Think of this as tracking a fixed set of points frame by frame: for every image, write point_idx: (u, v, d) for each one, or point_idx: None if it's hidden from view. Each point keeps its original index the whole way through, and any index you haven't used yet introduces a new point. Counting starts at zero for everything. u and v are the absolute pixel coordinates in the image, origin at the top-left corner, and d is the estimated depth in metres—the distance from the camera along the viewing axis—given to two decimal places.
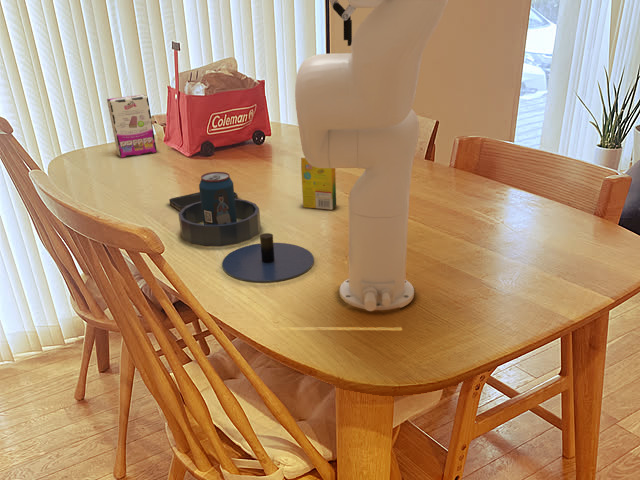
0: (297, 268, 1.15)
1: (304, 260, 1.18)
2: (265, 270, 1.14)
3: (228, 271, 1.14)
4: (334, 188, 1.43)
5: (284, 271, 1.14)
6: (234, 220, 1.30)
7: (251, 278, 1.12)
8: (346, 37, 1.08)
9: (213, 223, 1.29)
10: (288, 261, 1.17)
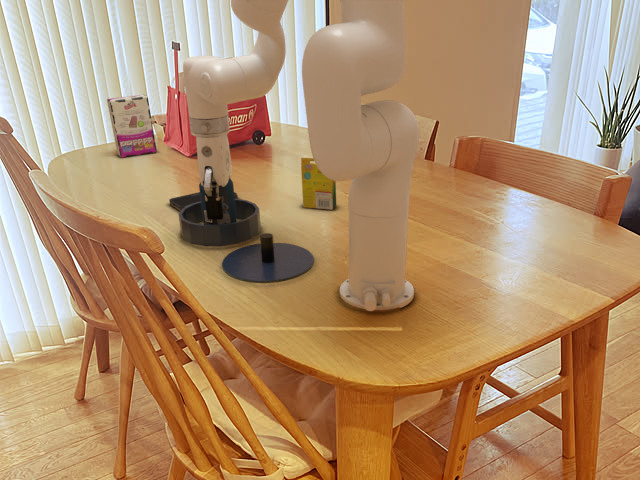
0: (297, 268, 1.15)
1: (304, 260, 1.18)
2: (265, 270, 1.14)
3: (228, 271, 1.14)
4: (334, 188, 1.43)
5: (284, 271, 1.14)
6: (234, 220, 1.30)
7: (251, 278, 1.12)
8: (218, 213, 1.26)
9: (213, 223, 1.29)
10: (288, 261, 1.17)
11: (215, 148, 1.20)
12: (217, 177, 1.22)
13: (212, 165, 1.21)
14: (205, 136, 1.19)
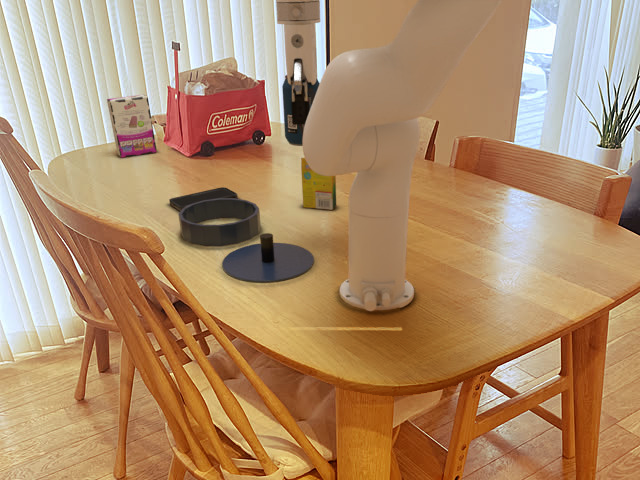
0: (297, 268, 1.15)
1: (304, 260, 1.18)
2: (265, 270, 1.14)
3: (228, 271, 1.14)
4: (334, 188, 1.43)
5: (284, 271, 1.14)
6: None
7: (251, 278, 1.12)
8: (305, 117, 1.13)
9: (298, 129, 1.15)
10: (288, 261, 1.17)
11: (306, 36, 1.06)
12: (307, 72, 1.08)
13: (302, 57, 1.07)
14: (296, 23, 1.06)
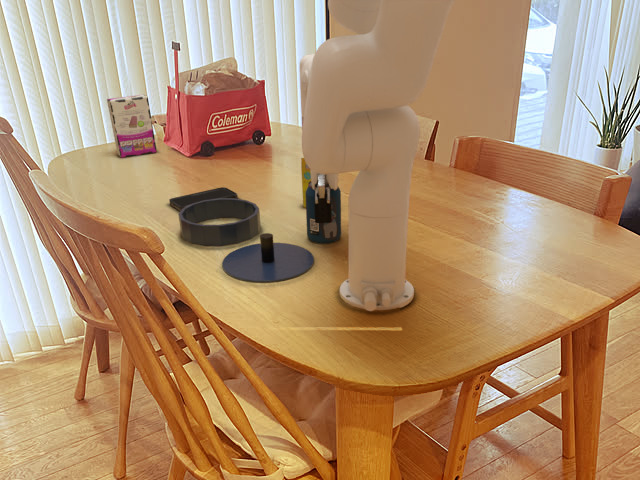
0: (297, 268, 1.15)
1: (304, 260, 1.18)
2: (265, 270, 1.14)
3: (228, 271, 1.14)
4: None
5: (284, 271, 1.14)
6: (339, 229, 1.26)
7: (251, 278, 1.12)
8: (327, 216, 1.20)
9: (319, 232, 1.24)
10: (288, 261, 1.17)
11: None
12: (330, 176, 1.16)
13: None
14: None
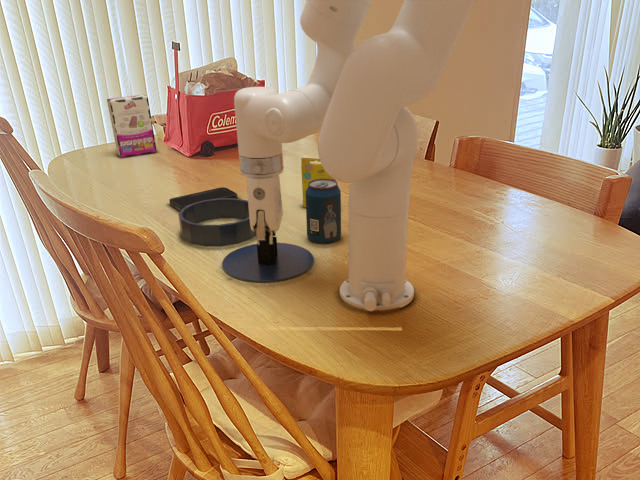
0: (296, 268, 1.15)
1: (304, 260, 1.18)
2: (265, 270, 1.14)
3: (228, 271, 1.14)
4: None
5: (284, 271, 1.14)
6: (339, 229, 1.26)
7: (251, 278, 1.12)
8: (270, 258, 1.16)
9: (319, 232, 1.24)
10: (288, 261, 1.17)
11: (268, 190, 1.06)
12: None
13: (265, 209, 1.08)
14: (257, 177, 1.06)
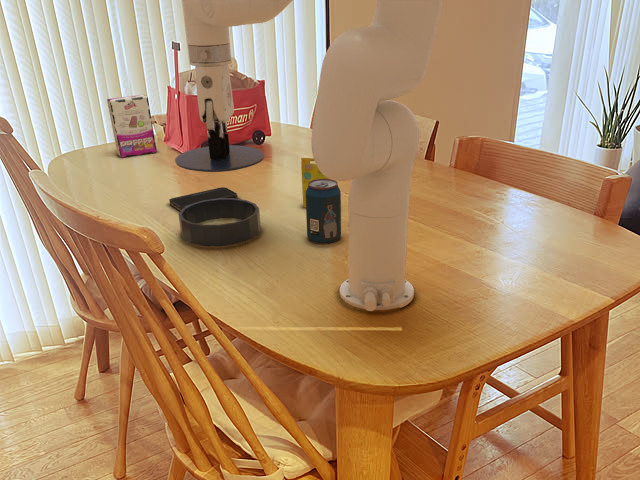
0: (246, 161, 1.19)
1: (254, 156, 1.22)
2: (216, 163, 1.18)
3: (179, 163, 1.18)
4: None
5: (234, 163, 1.18)
6: (339, 229, 1.26)
7: (201, 168, 1.16)
8: (221, 152, 1.20)
9: (319, 232, 1.24)
10: (239, 157, 1.22)
11: (215, 78, 1.11)
12: (219, 117, 1.14)
13: (212, 97, 1.12)
14: (205, 65, 1.10)
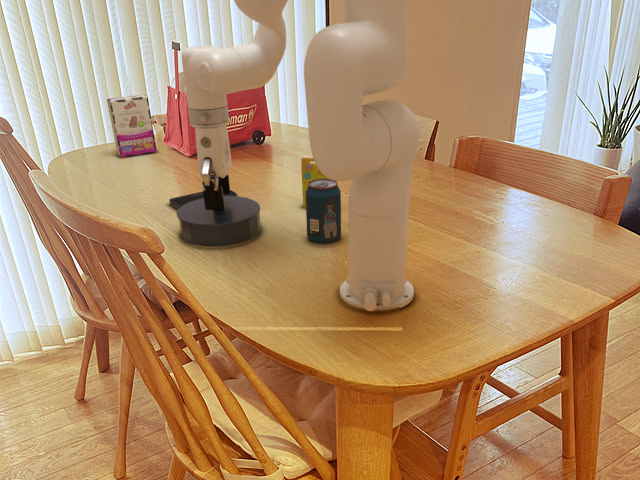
0: (243, 215, 1.27)
1: (251, 209, 1.30)
2: (214, 217, 1.27)
3: (180, 217, 1.27)
4: None
5: (231, 217, 1.26)
6: (339, 229, 1.26)
7: (201, 223, 1.24)
8: (216, 204, 1.24)
9: (319, 232, 1.24)
10: (236, 210, 1.30)
11: (214, 138, 1.19)
12: (216, 165, 1.21)
13: (211, 156, 1.20)
14: (204, 127, 1.18)
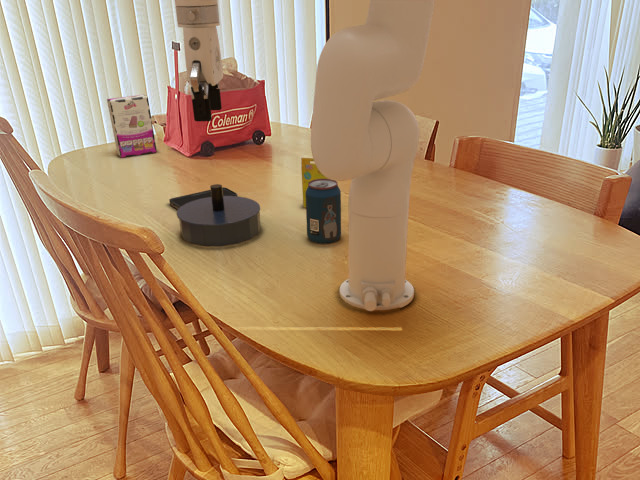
0: (243, 215, 1.27)
1: (251, 209, 1.30)
2: (214, 217, 1.27)
3: (180, 217, 1.27)
4: None
5: (231, 217, 1.26)
6: (339, 229, 1.26)
7: (201, 223, 1.24)
8: (206, 114, 1.16)
9: (319, 232, 1.24)
10: (236, 210, 1.30)
11: (203, 39, 1.10)
12: (205, 69, 1.12)
13: (200, 59, 1.11)
14: (193, 26, 1.10)
